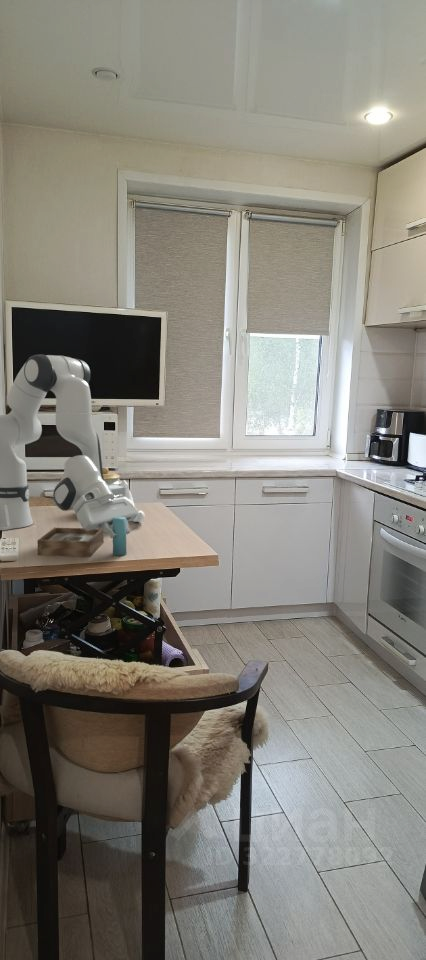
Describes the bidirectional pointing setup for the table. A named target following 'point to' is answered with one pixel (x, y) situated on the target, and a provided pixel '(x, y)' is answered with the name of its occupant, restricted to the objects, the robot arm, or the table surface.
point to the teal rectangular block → (119, 536)
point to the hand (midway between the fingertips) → (121, 535)
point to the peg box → (70, 542)
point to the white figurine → (129, 496)
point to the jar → (111, 477)
